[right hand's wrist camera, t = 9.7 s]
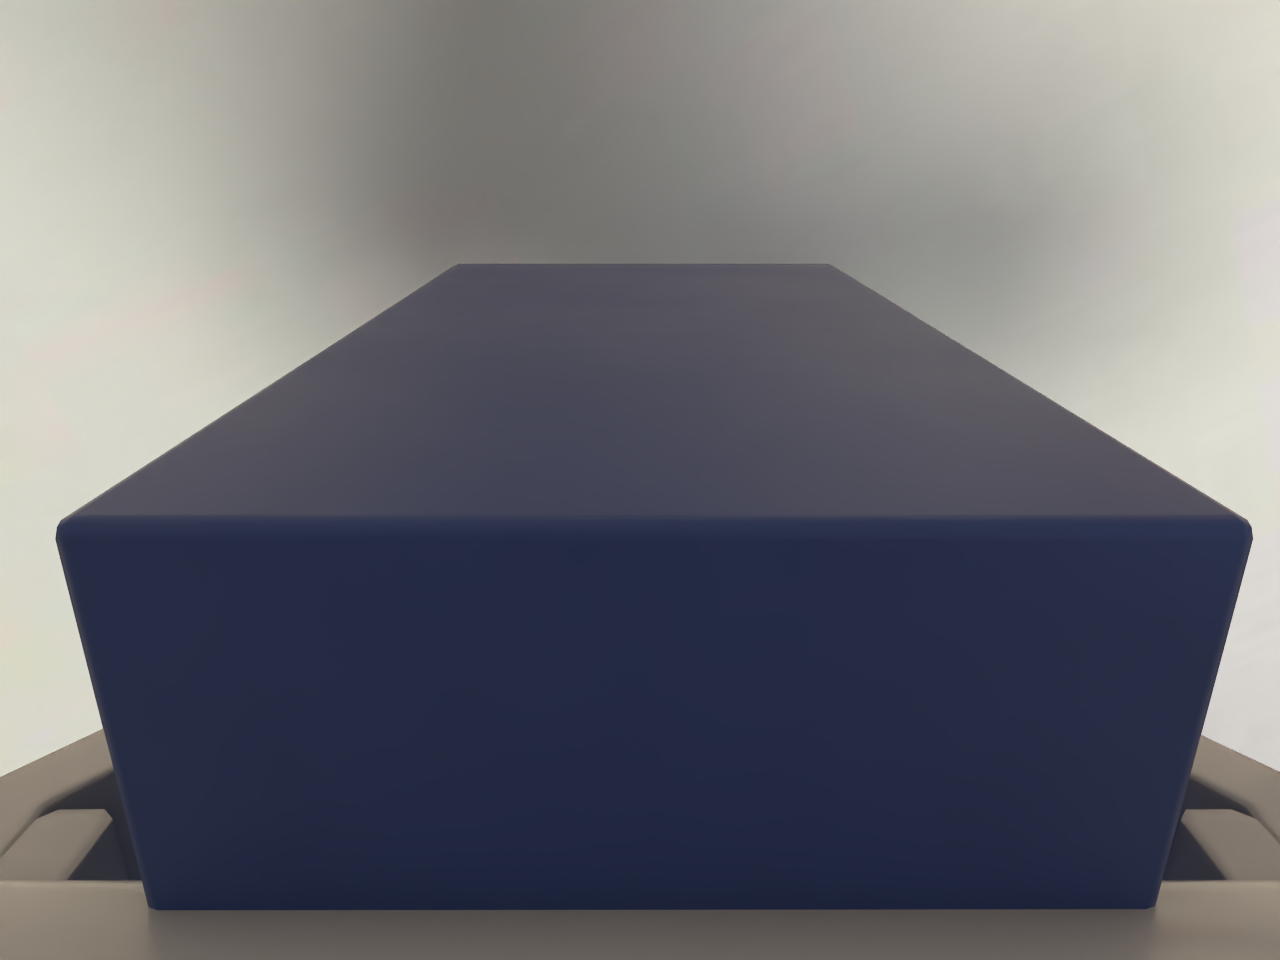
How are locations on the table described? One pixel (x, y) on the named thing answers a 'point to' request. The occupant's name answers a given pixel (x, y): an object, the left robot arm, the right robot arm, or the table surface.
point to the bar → (651, 615)
